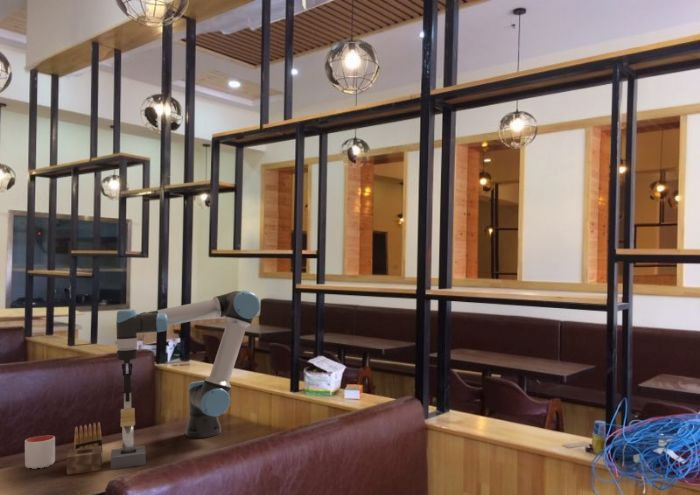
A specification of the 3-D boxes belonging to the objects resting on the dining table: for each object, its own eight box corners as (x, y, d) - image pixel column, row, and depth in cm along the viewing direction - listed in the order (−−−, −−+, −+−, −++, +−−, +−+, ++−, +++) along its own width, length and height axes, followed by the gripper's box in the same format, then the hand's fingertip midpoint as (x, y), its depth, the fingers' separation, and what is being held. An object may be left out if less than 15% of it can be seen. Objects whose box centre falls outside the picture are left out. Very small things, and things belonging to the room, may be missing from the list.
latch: (134, 419, 233) (134, 407, 233) (135, 425, 223) (134, 412, 224) (120, 421, 231) (120, 409, 231) (120, 426, 222) (120, 414, 222)
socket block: (144, 456, 234) (144, 418, 235) (145, 464, 223) (145, 425, 224) (111, 460, 230) (111, 422, 231) (110, 469, 219) (110, 429, 220)
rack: (101, 461, 228) (101, 445, 229) (100, 470, 218) (100, 453, 218) (69, 465, 225) (69, 449, 225) (66, 474, 214) (66, 457, 215)
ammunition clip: (75, 458, 235) (74, 426, 235) (73, 457, 236) (72, 426, 237) (102, 452, 242) (102, 421, 243) (100, 451, 244) (100, 421, 244)
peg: (134, 460, 229) (133, 422, 230) (134, 463, 225) (133, 425, 226) (122, 461, 228) (122, 424, 228) (122, 464, 224) (122, 426, 225)
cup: (34, 471, 219) (34, 443, 220) (19, 467, 225) (19, 440, 225) (60, 463, 228) (60, 437, 228) (45, 460, 233) (45, 434, 234)
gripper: (117, 348, 245) (117, 407, 243) (116, 351, 232) (117, 413, 231) (136, 346, 247) (137, 405, 246) (137, 350, 235) (138, 411, 234)
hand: (127, 409), depth 238 cm, fingers closed
